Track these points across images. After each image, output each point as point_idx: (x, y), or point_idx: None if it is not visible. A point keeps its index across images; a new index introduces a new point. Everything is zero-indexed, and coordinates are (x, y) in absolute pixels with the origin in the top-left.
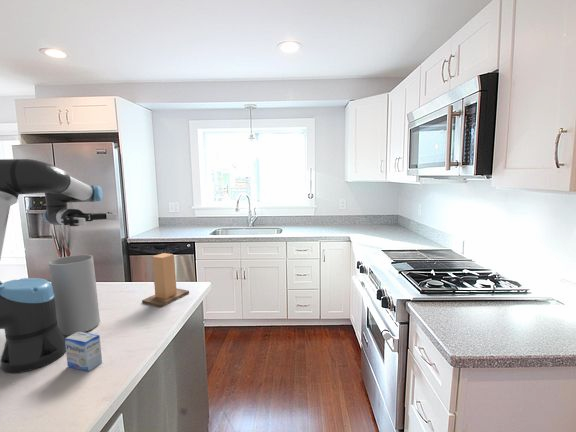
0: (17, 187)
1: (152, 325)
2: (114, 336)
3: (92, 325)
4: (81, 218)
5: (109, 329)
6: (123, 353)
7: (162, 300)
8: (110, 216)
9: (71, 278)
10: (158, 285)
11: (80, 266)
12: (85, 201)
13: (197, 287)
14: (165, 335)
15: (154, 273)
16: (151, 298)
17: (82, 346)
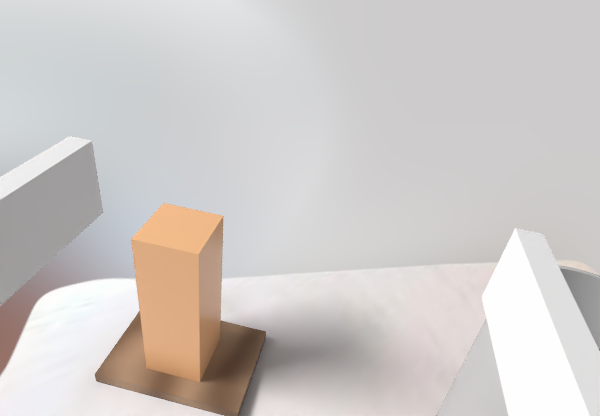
0: None
1: (367, 307)
2: (445, 357)
3: None
4: (554, 263)
5: (428, 395)
6: (475, 302)
7: (235, 341)
8: (9, 239)
9: (593, 334)
10: (208, 331)
11: (574, 286)
12: None
13: (88, 304)
14: (391, 268)
15: (202, 310)
16: (219, 386)
17: None
